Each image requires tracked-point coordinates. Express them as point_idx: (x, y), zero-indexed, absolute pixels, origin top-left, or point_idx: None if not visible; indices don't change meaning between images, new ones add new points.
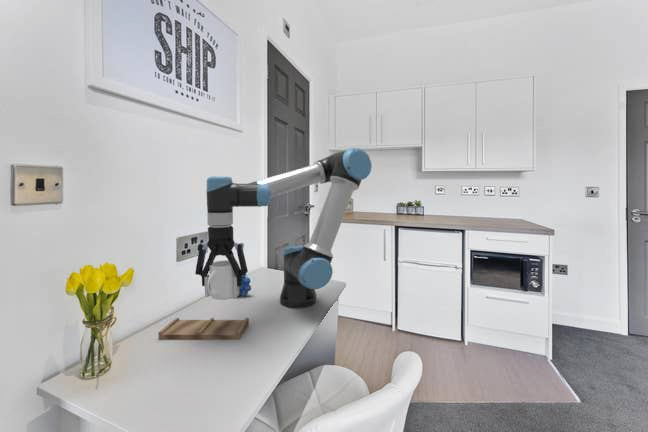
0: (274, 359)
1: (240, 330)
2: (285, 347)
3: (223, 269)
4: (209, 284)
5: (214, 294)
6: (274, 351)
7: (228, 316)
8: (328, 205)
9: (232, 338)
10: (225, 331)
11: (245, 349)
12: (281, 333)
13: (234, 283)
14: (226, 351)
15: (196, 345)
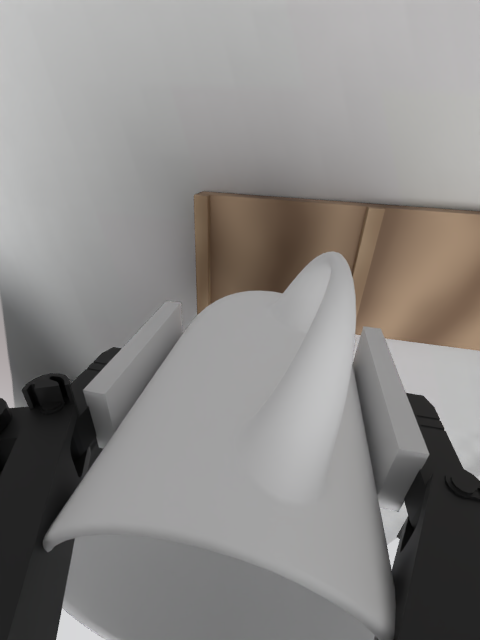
0: (17, 13)
1: (194, 213)
2: (17, 116)
3: (144, 475)
4: (365, 413)
5: (293, 280)
6: (42, 84)
7: None
8: None
9: (229, 193)
10: (263, 228)
11: (154, 104)
12: (70, 226)
13: (132, 356)
14: (226, 88)
15: (372, 149)
